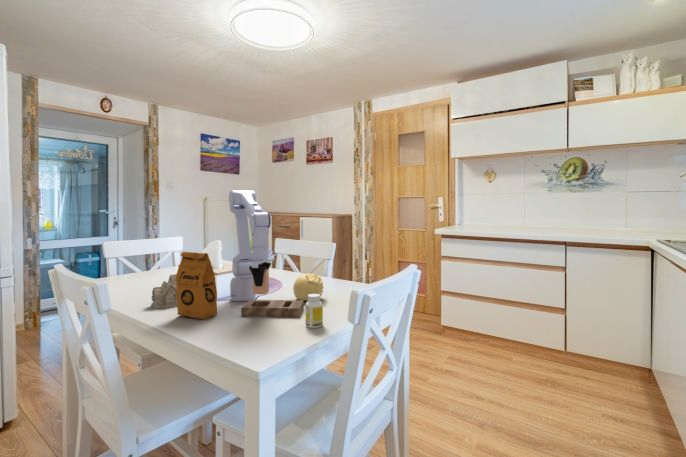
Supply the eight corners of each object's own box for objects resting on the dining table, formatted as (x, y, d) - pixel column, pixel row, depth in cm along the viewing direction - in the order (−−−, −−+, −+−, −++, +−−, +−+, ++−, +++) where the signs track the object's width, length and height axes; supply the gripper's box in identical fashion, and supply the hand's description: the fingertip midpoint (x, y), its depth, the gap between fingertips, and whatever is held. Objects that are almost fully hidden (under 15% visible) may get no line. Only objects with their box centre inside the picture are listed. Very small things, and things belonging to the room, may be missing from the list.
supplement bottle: (325, 323, 114) (325, 293, 113) (318, 329, 109) (318, 298, 108) (309, 321, 116) (309, 292, 115) (302, 327, 111) (302, 296, 110)
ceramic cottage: (190, 294, 150) (186, 259, 148) (198, 304, 136) (195, 266, 134) (148, 301, 141) (144, 265, 139) (153, 314, 128) (148, 273, 126)
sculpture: (322, 303, 137) (322, 276, 136) (291, 303, 137) (291, 276, 136) (324, 296, 148) (324, 270, 147) (295, 295, 148) (295, 270, 147)
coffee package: (200, 322, 115) (198, 255, 113) (172, 317, 120) (170, 252, 118) (222, 313, 124) (221, 251, 122) (196, 309, 129) (194, 249, 127)
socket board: (241, 316, 121) (241, 307, 121) (249, 307, 131) (249, 299, 131) (299, 317, 120) (299, 308, 120) (303, 308, 130) (303, 300, 130)
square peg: (252, 294, 123) (252, 271, 123) (256, 291, 128) (256, 269, 127) (265, 294, 123) (265, 271, 123) (268, 291, 128) (268, 269, 127)
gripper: (266, 249, 117) (266, 289, 118) (276, 244, 131) (276, 280, 132) (245, 248, 117) (245, 289, 118) (257, 243, 132) (257, 279, 133)
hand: (260, 284), depth 125 cm, fingers closed on square peg, 4 cm apart
